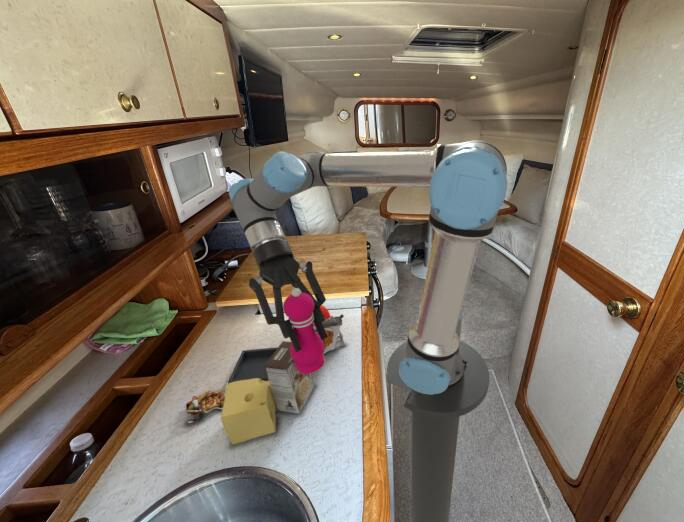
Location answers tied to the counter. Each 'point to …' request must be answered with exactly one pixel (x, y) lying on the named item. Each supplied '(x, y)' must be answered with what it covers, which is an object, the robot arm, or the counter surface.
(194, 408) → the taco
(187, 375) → the counter surface
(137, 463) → the counter surface
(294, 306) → the pepper mill
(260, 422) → the cheese
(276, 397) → the coffee box
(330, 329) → the meal
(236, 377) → the spice tray
